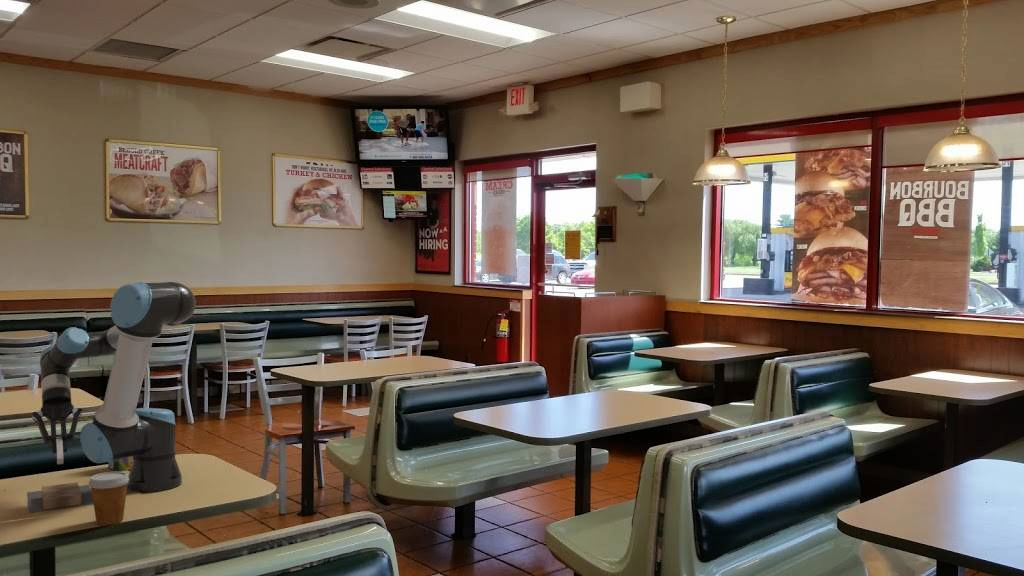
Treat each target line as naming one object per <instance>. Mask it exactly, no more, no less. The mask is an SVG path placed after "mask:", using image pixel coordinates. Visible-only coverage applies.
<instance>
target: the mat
mask: <svg viewBox="0 0 1024 576" xmlns="http://www.w3.org/2000/svg"><path fill="white" fill-rule="evenodd" d="M78 486H79V489H80V493H81V505H75V506H67V507H60V508H53V509H45V510H44V508H43V501H42V490H36V491H28V492H27V493H26V494H27V510H28V514H34V513H41V512H47V511H55V510H63V509H70V508H77V507H84V506H91V505H93V506H94V504H93V498H92V491H91V487H90V485H89V484H84V485H78Z"/></svg>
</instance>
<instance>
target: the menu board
mask: <svg viewBox="0 0 1024 576" xmlns="http://www.w3.org/2000/svg"><path fill="white" fill-rule="evenodd" d="M79 486H80V485H79V483H78V482H69V483H63V484H53V485H46V486H45V485H44V486H41V491H42V501H43V508H44V510H45V509H53V508H60V507H67V506H75V505H81V493H80V489H79Z"/></svg>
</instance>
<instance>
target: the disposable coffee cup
mask: <svg viewBox="0 0 1024 576" xmlns="http://www.w3.org/2000/svg"><path fill="white" fill-rule="evenodd" d="M128 476H129V474H128V473H127V472H126V471H121V472H118V471H105V472H101V473H100V472H99V473H96V474H94V475H92V476H91V477H90V479H89V482H88V485H89V486H90V489H91V492H92V498H93V509H94V515H95V516H94V517H95V521H96V525H99V526H111V525H115V524H116V525H117V524H119V523H121V522H123V521H124V514H125V507H126V497H127V490H128V488H127V483H128V481H129V477H128ZM122 520H123V521H122Z"/></svg>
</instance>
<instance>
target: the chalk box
mask: <svg viewBox="0 0 1024 576" xmlns="http://www.w3.org/2000/svg"><path fill="white" fill-rule="evenodd" d="M107 463H108V464H107V466H108V467H107V468H108V469H111V470H113V472H126V471H129V472H130V470H131V467H132V464H133V456H131V457H126V458H122V459H118V460H113V461H111V462H107Z"/></svg>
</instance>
